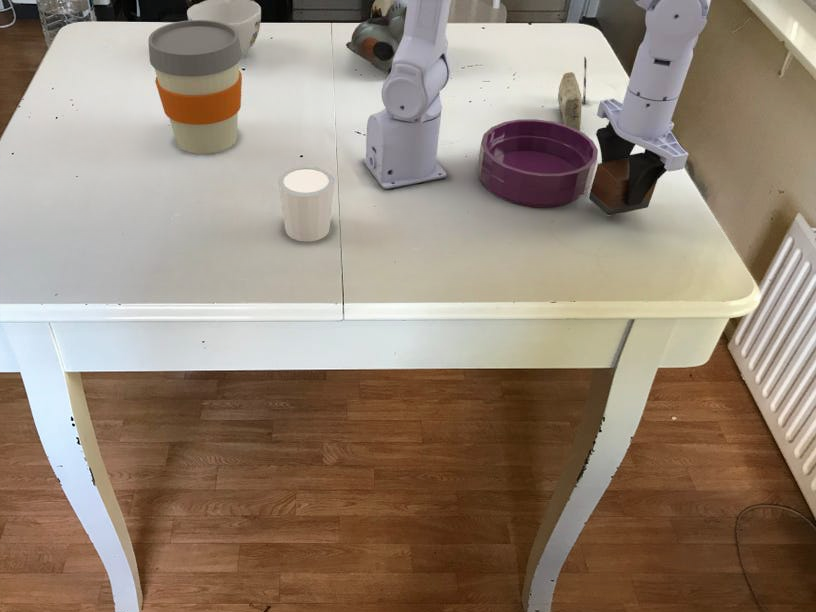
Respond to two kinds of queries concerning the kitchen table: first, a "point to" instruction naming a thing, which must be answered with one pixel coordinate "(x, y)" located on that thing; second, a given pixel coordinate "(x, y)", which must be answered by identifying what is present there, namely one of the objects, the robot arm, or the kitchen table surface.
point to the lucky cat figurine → (380, 35)
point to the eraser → (614, 188)
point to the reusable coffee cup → (199, 82)
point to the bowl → (536, 162)
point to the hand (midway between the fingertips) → (621, 193)
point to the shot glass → (306, 202)
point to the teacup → (231, 18)
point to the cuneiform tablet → (571, 99)
